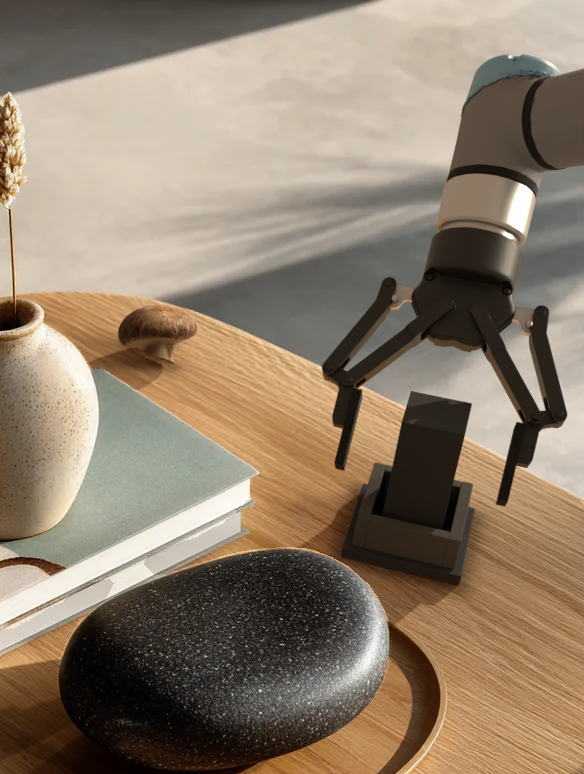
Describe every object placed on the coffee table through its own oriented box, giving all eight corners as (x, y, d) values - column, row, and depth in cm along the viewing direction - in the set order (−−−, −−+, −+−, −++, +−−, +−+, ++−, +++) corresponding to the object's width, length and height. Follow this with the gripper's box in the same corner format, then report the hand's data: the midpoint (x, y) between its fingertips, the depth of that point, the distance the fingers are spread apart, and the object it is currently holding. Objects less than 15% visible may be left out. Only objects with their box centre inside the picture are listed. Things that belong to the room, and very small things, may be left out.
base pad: (473, 517, 118) (482, 480, 116) (459, 585, 111) (468, 548, 109) (361, 491, 121) (368, 455, 119) (340, 557, 113) (347, 520, 111)
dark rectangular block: (444, 518, 117) (472, 403, 109) (436, 552, 113) (464, 435, 106) (386, 505, 118) (411, 390, 111) (377, 538, 114) (401, 421, 107)
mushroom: (185, 359, 132) (175, 296, 132) (112, 372, 135) (102, 311, 135) (211, 360, 139) (202, 301, 139) (141, 373, 143) (132, 315, 143)
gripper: (624, 282, 112) (568, 525, 110) (334, 231, 119) (276, 460, 116) (640, 252, 105) (581, 511, 103) (331, 198, 111) (268, 442, 109)
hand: (419, 485), depth 110 cm, fingers open, 13 cm apart
